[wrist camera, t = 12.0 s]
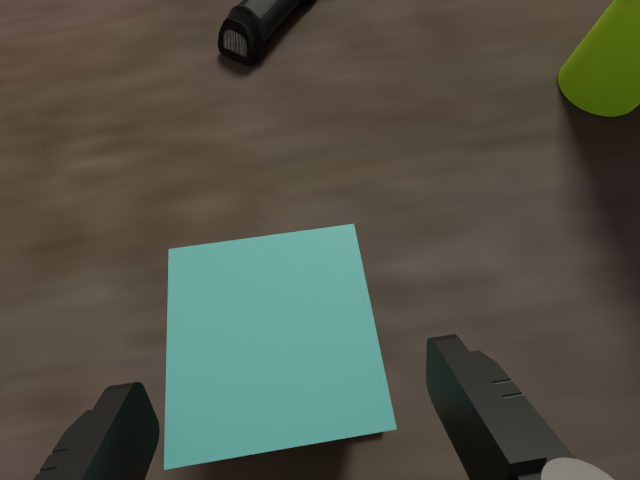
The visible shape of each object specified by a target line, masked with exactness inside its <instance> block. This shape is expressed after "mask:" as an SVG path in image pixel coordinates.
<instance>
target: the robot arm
mask: <svg viewBox="0 0 640 480" xmlns="http://www.w3.org/2000/svg"><path fill="white" fill-rule="evenodd" d="M426 383H427V388H428V392H429V396H430V399H431V401H432V403H433V405H434V407H435V409H436V411H437V414H438V416H439V418H440V420H441V422H442V424H443V426H444V428H445V430H446V432H447V434H448V436H449V438H450V440H451V442H452V444H453V446H454V448H455V450H456V452H457V454H458V456H459V458H460V460H461V463H462V465H463V467H464V469H465V471H466V473H467V475H468V477H469V479H470V480H614V479H613V478H611V477H610V476H609V475H608V474H606V473H605V472H603V471H602V470H600V469H598V468H597V467H595V466H593V465H591V464H589V463H586V462H584V461H581V460H578V459H576V458H575V457H574V456H573V455H572V454H571V452H570V451H569V450H568V449H567V448H566V447H565V445H564V444H563V443H562V442H561V440H560V439H559V438H558V437H557V435H556V434H555V433H554V432H553V431H552V429H551V428H550V427H549V426H548V424H547V423H546V422H545V421H544V419H543V418H542V417H541V416H540V415H539V413H538V412H537V411H536V410H535V408H534V407H533V406H532V405H531V404H530V402H529V401H528V400H527V399H526V397H525V396H522V394H521V391H520V390H519V389H518V388H517V386H516V385H515V384H514V383H513V382H511V380H510V378H509V377H508V375H507V374H506V373H505V372H504V370H503V369H502V368H501V367H500V365H499V364H498V363H497V362H495V361H494V360H493V359H491V358H490V357H488V356H487V355H485V354H484V353H482V352H481V351H479V350H478V351H472V352H469V351H468V349H467V348H466V346H465V345H464V344H463V342H462V341H461V340H460V338H459V337H458V336H457V335H447V336H441V337H434V338H429V339H428V340H427V361H426ZM158 440H159V422H158V419H157V417H156V414H155V412H154V409H153V407H152V405H151V402H150V400H149V397H148V395H147V393H146V390H145V388H144V386H143V384H142V383H140V382H134V383H128V384H121V385H115V386H110V387H108V388H107V389H106V390H105V391H104V392H103V394H102V395H101V397H100V398H99V400H98V402H97V403H96V405H95V406H94V408H93V410H87V411H86V412H85V413H84V414H82V415H81V416H80V417H79V418H78V419H77V420H76V421H75V422H74V423H73V424H72V425H71V426H70V427H69V428H68V429H67V430H66V431H65V433H64V434H63V436H62V437H61V439H60V440H59V442H58V443H57V445H56V446H55V448H54V449H53V451H52V452H53V453H52V455H49V457H48V458H47V460H46V461H45V463H44V464H43V466H42V467H41V469H40V473H39V474H37V475H36V476H35V478H34V479H33V480H145V477H146V474H147V472H148V469H149V466H150V463H151V461H152V458H153V455H154V453H155V450H156V447H157V444H158Z"/></svg>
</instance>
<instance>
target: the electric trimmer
mask: <svg viewBox="0 0 640 480" xmlns="http://www.w3.org/2000/svg"><path fill="white" fill-rule="evenodd" d="M310 1H311V0H243V1H242V2H241V3H240V4H239V5H237V6H235V7H233V8H232V9H231V11H230V13H229V15H228V16H227V18H226V20H225V21H224V22H223V24H222V26H221V29H220V32H219V37H218V48H219V51H220V52H221V54H223V55H224V56H226V57H229V58H231V59H233V60H235V61H238V62H240V63H242V64H244V65H247V66H249V65H251V64H252V63H253V62H254V63H258V62H259V60H260V59H261V57H262V53H263V49H264V44H265V41H266V40H267V39H268V38H269V37H270V36H271V35H272V33H273V32H274V31H275V30H276V29H277V28H278V27H279V26H280V24H281V23H282V22H283V21H284V20H285V19H286V18H287V16H288V15H289V14H290V13H291V12H292V11H293V10H294V9H295V7H296V6H297V5H298V4H300V3H306V2H310Z"/></svg>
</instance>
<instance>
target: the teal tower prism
mask: <svg viewBox="0 0 640 480" xmlns="http://www.w3.org/2000/svg"><path fill="white" fill-rule="evenodd" d="M395 429H397V428H396V423H395V419H394V414H393V409H392V404H391V399H390V395H389V390H388V385H387V380H386V375H385V371H384V366H383V361H382V356H381V352H380V347H379V342H378V337H377V332H376V328H375V323H374V318H373V313H372V308H371V304H370V299H369V294H368V289H367V284H366V280H365V275H364V270H363V265H362V260H361V256H360V251H359V246H358V241H357V236H356V232H355V227H354V224H349V225H342V226H335V227H327V228H320V229H313V230H305V231H298V232H291V233H283V234H276V235H269V236H262V237H254V238H247V239H240V240H232V241H225V242H218V243H210V244H203V245H196V246H188V247H181V248H174V249H169V264H168V309H167V355H166V401H165V447H164V470H166V469H172V468H177V467H183V466H189V465H195V464H200V463H206V462H212V461H217V460H223V459H229V458H235V457H240V456H246V455H252V454H258V453H263V452H269V451H275V450H281V449H286V448H292V447H298V446H303V445H309V444H315V443H321V442H326V441H332V440H338V439H344V438H349V437H355V436H361V435H367V434H372V433H378V432H384V431H390V430H395Z"/></svg>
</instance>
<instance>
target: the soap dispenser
mask: <svg viewBox="0 0 640 480" xmlns="http://www.w3.org/2000/svg"><path fill="white" fill-rule="evenodd" d="M558 85H559V87H560V90H561V91H562V93H563V94H564V96H565V97H566V98H567V99H568V100H569V101H570V102H571V103H573V104H574V105H575V106H577V107H578V108H580V109H582V110H584V111H586V112H589V113H591V114H595V115H599V116H605V117H616V116H621V115H625V114H627V113H629V112H631V111H632V110H634V109H635V108H636V107H637V106H638V105H639V104H640V0H614V1H613V2H612V3H611V5H610V6H609V7H608V8H607V10H606V11H605V12H604V14H603V15H602V16H601V17H600V19H599V20H598V21H597V22H596V24H595V25H594V26H593V28H592V29H591V30H590V31H589V33H588V34H587V35H586V37H585V38H584V39H583V40H582V42H581V43H580V44H579V46H578V47H577V48H576V49H575V51H574V52H573V53H572V55H571V56H570V57H569V58H568V60H567V61H566V62H565V64H564V65H563V66H562V67H561V69H560V71H559V73H558Z"/></svg>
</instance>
